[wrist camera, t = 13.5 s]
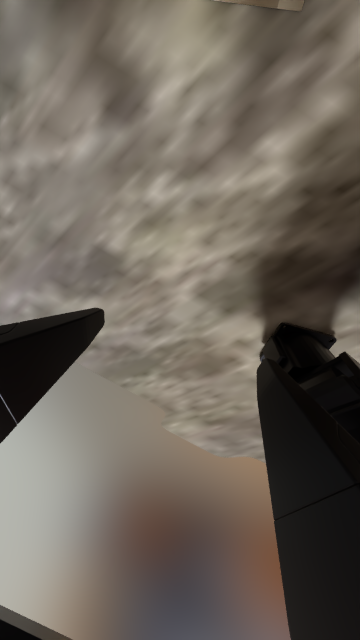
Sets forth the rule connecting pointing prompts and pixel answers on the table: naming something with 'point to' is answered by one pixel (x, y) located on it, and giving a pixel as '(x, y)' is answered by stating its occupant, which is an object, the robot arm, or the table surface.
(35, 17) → the table surface
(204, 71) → the table surface
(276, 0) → the socket block
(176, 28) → the table surface
